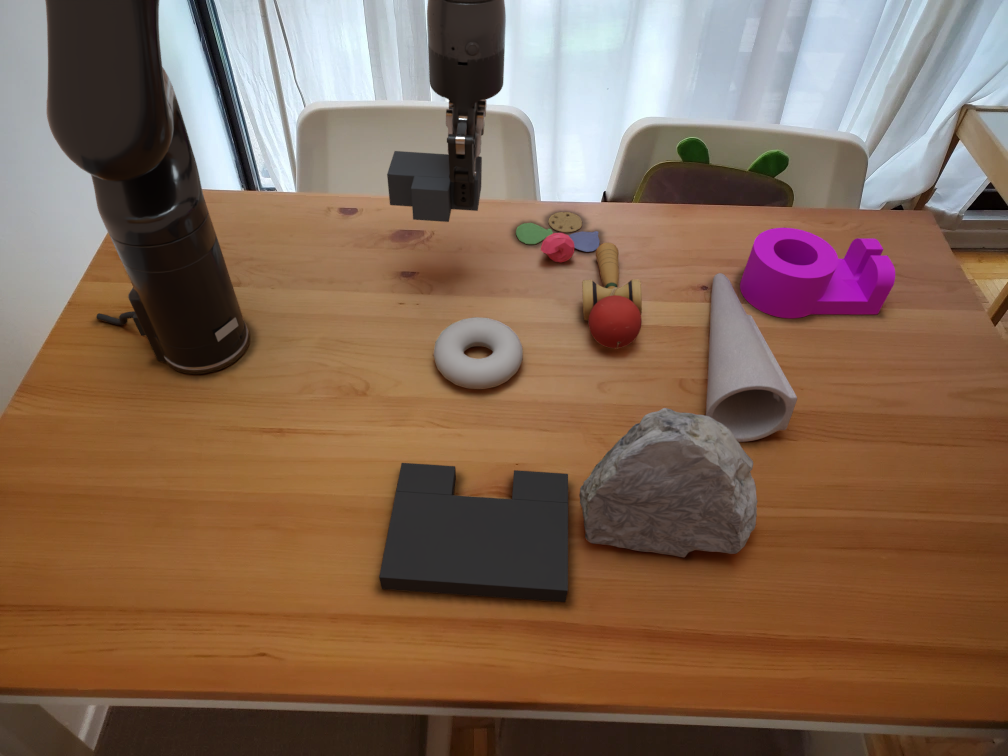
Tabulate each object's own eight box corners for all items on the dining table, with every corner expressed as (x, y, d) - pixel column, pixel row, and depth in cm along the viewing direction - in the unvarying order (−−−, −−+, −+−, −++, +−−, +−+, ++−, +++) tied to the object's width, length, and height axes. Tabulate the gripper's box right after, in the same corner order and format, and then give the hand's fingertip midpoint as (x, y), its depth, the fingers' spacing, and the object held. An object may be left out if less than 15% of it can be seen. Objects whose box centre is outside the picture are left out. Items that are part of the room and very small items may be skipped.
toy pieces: (613, 261, 94) (618, 234, 91) (531, 272, 92) (533, 244, 89) (585, 210, 102) (589, 183, 99) (509, 219, 100) (510, 191, 97)
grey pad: (386, 218, 80) (382, 186, 77) (396, 181, 85) (394, 150, 82) (475, 224, 80) (476, 192, 77) (481, 187, 85) (481, 156, 82)
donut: (423, 388, 79) (513, 402, 77) (421, 366, 76) (514, 380, 75) (446, 327, 85) (529, 339, 84) (445, 305, 83) (530, 317, 82)
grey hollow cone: (664, 249, 89) (714, 386, 69) (733, 248, 89) (803, 385, 70) (655, 301, 94) (699, 442, 74) (721, 300, 94) (782, 441, 75)
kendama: (569, 269, 95) (574, 351, 81) (582, 226, 91) (590, 305, 77) (625, 280, 96) (640, 363, 82) (640, 239, 92) (659, 319, 78)
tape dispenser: (751, 318, 88) (766, 277, 83) (731, 267, 94) (744, 227, 90) (879, 318, 88) (902, 278, 84) (851, 267, 95) (870, 228, 90)
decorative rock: (572, 548, 66) (591, 447, 55) (577, 487, 70) (596, 384, 59) (754, 573, 64) (811, 475, 53) (747, 510, 69) (798, 408, 58)
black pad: (381, 589, 62) (378, 577, 61) (403, 475, 71) (401, 462, 69) (565, 602, 62) (567, 590, 60) (566, 486, 70) (568, 473, 69)
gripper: (437, 9, 75) (441, 157, 87) (417, 69, 65) (425, 226, 78) (508, 13, 75) (503, 161, 87) (500, 74, 65) (495, 230, 77)
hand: (466, 191), depth 82 cm, fingers closed on grey pad, 5 cm apart
